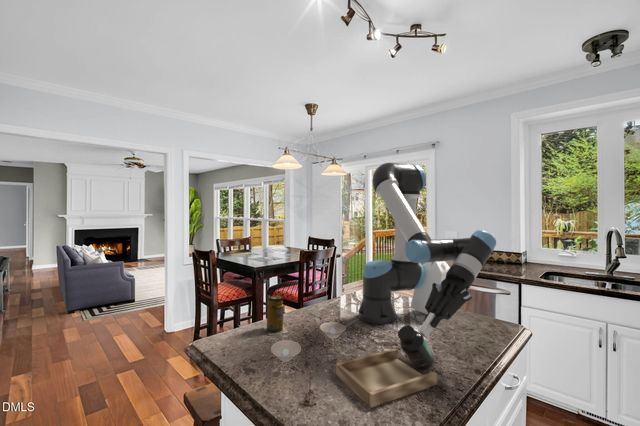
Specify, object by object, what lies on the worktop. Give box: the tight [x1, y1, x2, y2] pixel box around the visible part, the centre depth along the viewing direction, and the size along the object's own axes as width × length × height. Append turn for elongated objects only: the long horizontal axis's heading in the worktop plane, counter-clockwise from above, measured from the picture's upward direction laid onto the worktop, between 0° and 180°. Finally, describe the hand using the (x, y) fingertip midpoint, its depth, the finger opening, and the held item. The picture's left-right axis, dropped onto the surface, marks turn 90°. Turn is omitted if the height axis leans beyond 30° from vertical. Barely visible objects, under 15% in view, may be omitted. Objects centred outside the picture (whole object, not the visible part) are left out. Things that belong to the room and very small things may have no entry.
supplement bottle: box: [397, 325, 436, 372], centre depth 89 cm, size 7×7×12 cm
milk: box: [409, 261, 451, 315], centre depth 138 cm, size 12×12×26 cm
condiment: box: [262, 295, 289, 336], centre depth 116 cm, size 7×8×12 cm
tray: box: [335, 348, 438, 408], centre depth 84 cm, size 21×16×3 cm
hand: (422, 334), depth 89 cm, fingers closed
